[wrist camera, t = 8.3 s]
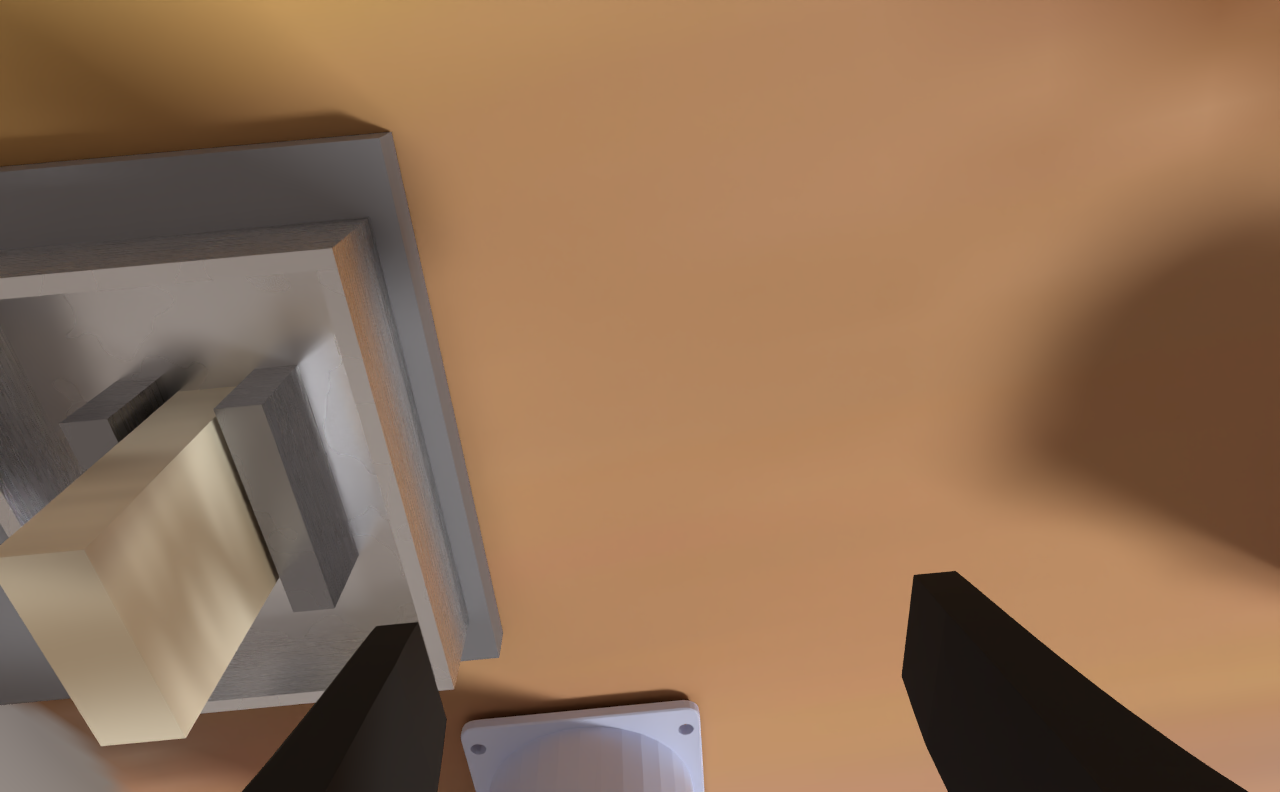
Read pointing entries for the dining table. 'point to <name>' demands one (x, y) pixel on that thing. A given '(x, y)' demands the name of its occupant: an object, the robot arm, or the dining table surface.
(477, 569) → the charcoal board
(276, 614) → the grey slotted tray
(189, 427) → the wood wick
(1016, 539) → the dining table surface
